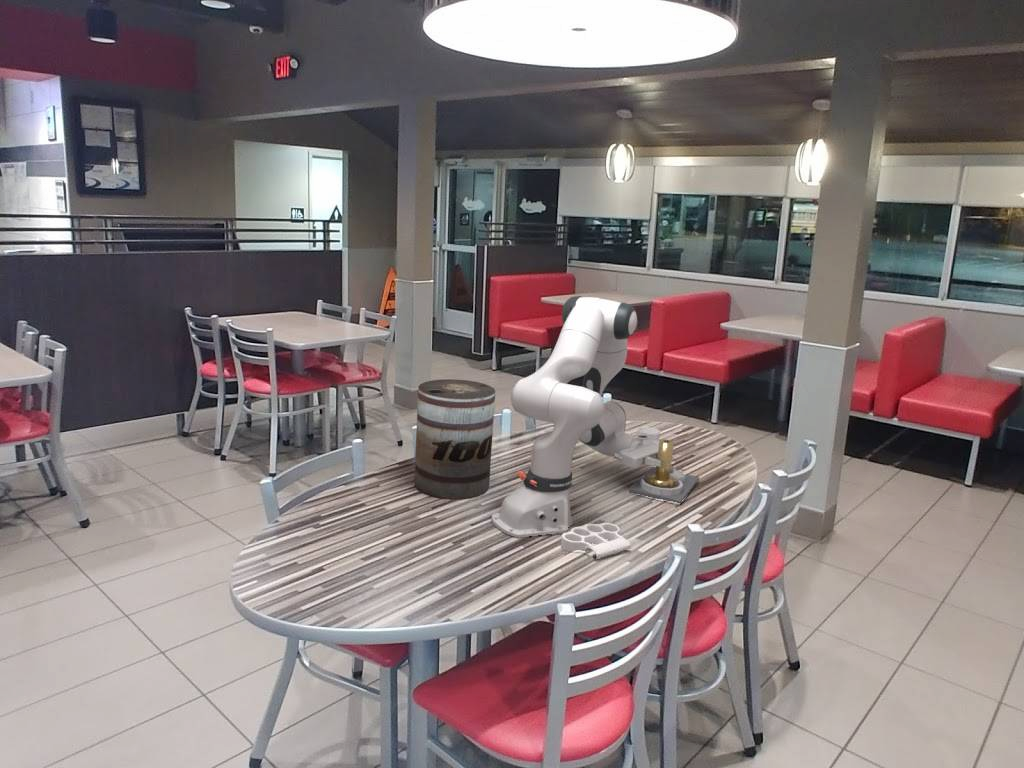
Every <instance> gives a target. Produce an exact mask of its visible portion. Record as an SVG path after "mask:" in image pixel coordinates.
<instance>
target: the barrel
mask: <svg viewBox="0 0 1024 768" xmlns="http://www.w3.org/2000/svg"><path fill="white" fill-rule="evenodd" d="M417 389H418V390H417V406H416V407H417V415H416V431H415V432H416V434H415V435H416V436H415V456H414V459H415V460H414V480H413V482H414V483H413V484H415V485H414V489H416V490H417V492H419V491H420V492H419V493H421V494H423V495H425V496H428V497H430V496H431V497H432V498H436V499H439V500H447V499H449V501H452V500H454V501H462V500H469V499H475V498H478V497H481V496H483V495H485V494H486V493H487V492H488V491H489V488H490V478H491V477H490V476H491V463H492V447H493V445H492V444H493V436H494V432H493V431H494V419H495V407H496V405H495V403H496V392H497V391H496V390H495V388H494V387H492V386H491V385H488V384H486V383H483V382H480V381H479V382H478V381H474V380H465V379H453V378H452V379H447V378H445V379H436V380H435V379H434V380H429V381H425V382H423V383H420V384H419V386H418V387H417Z"/></svg>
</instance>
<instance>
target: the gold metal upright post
mask: <svg viewBox="0 0 1024 768" xmlns="http://www.w3.org/2000/svg"><path fill="white" fill-rule="evenodd" d="M674 445H675V442H674V441H673V440H671V439H666V438H665V439H663V438H662V439H659V448H658V456H657V459H660V460H662V461H663V463H662V464H663V465H662V466H660V467H658V466H655V467H656V472H655V474H651V476H648V479H647V483H650V485H651V486H655V487H659V488H670V489H671V488H672V487H675V485H676V480H673V477H672V476H670V470H671V466H672V463H673V462H672V457H673V454H674V447H675V446H674Z"/></svg>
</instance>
